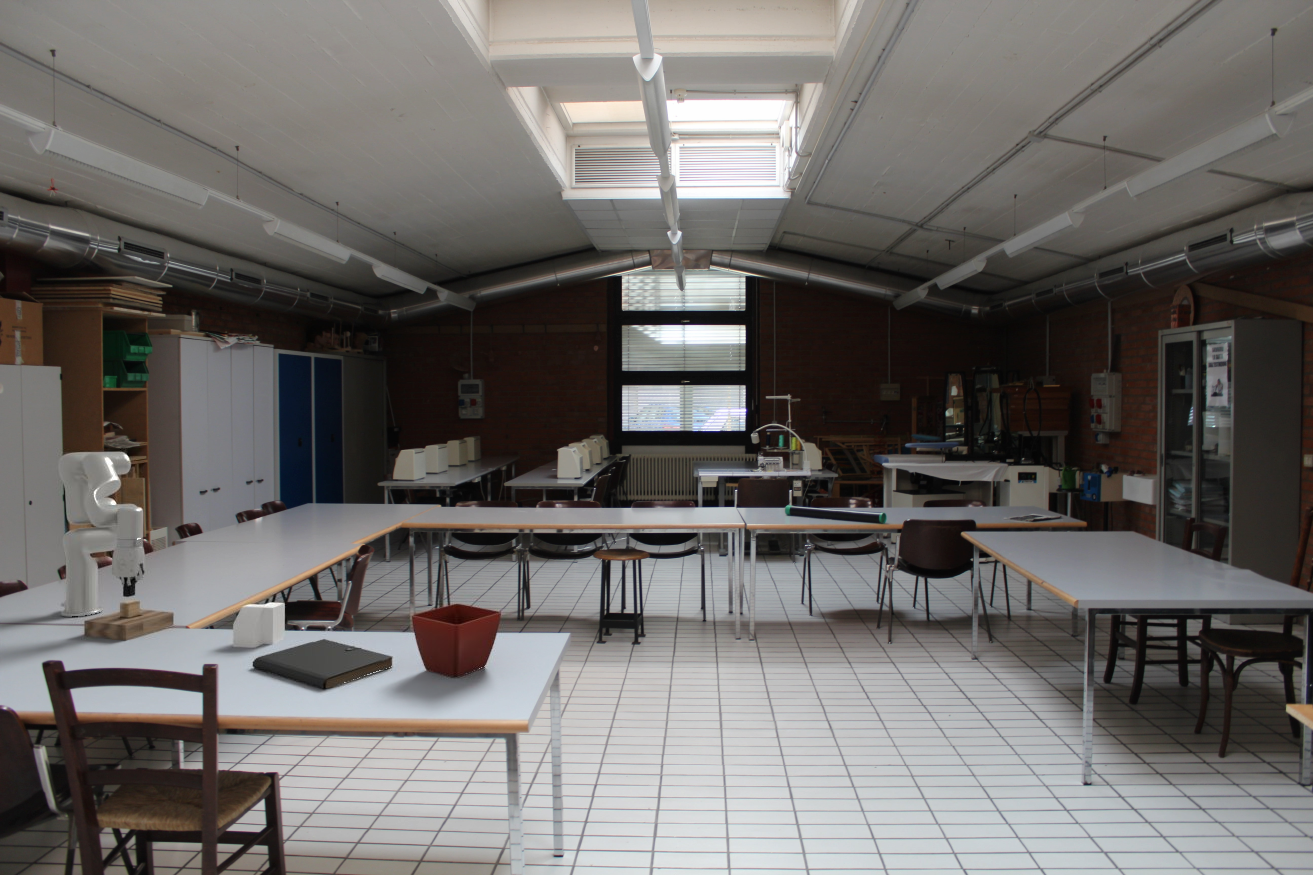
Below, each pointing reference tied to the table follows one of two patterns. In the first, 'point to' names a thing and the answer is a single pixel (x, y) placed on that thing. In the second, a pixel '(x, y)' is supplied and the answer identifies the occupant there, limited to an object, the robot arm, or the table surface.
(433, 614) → the plant pot
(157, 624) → the board
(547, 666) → the table surface
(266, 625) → the corner bracket
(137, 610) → the peg
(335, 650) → the dark grey book
